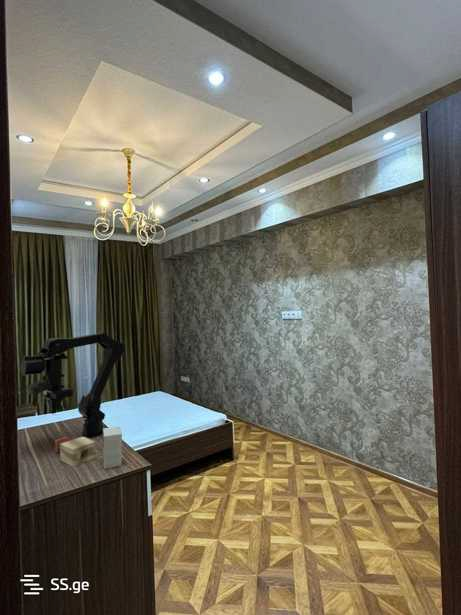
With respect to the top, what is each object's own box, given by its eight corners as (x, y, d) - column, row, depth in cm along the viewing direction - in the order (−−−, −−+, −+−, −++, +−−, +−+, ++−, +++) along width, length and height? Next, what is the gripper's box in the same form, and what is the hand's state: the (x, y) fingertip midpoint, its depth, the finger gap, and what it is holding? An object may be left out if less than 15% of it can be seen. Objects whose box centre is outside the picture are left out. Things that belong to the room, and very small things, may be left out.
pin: (66, 447, 118) (66, 436, 118) (85, 456, 110) (85, 444, 110) (55, 451, 114) (55, 440, 114) (73, 460, 107) (73, 448, 107)
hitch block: (82, 451, 115) (82, 436, 115) (95, 457, 110) (95, 441, 110) (60, 460, 108) (60, 443, 108) (72, 466, 104) (72, 449, 104)
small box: (102, 459, 109) (102, 428, 109) (120, 456, 111) (120, 425, 111) (103, 469, 102) (103, 436, 102) (121, 466, 104) (121, 433, 104)
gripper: (19, 372, 120) (19, 414, 120) (41, 377, 109) (41, 424, 109) (50, 368, 129) (50, 407, 129) (74, 373, 118) (73, 416, 117)
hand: (53, 413), depth 121 cm, fingers closed
